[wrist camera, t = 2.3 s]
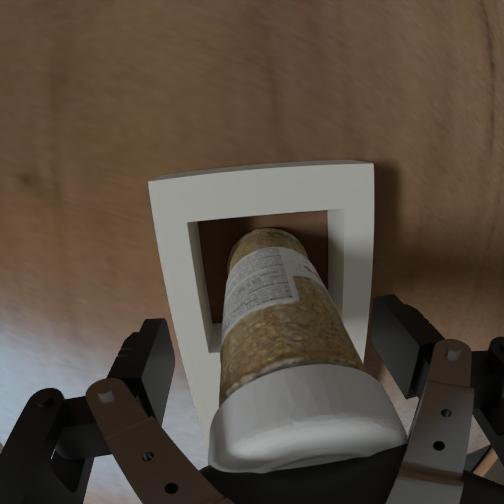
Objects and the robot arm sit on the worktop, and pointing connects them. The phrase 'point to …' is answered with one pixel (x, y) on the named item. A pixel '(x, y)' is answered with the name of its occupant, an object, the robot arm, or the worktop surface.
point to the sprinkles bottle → (290, 368)
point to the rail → (251, 204)
